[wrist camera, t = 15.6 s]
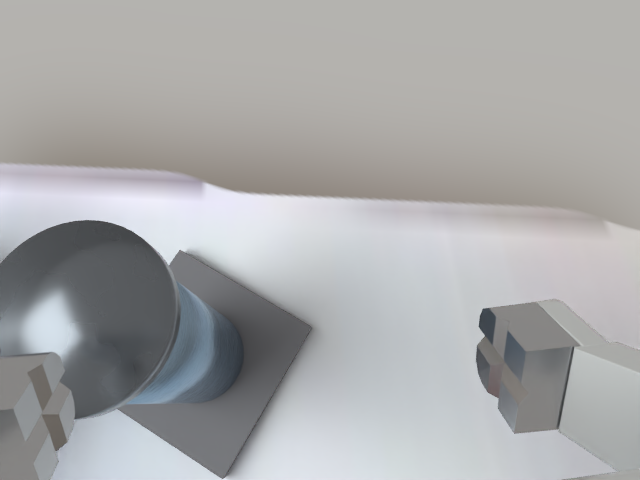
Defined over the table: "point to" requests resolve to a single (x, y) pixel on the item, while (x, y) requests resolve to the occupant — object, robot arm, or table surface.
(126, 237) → the plunger
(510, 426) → the robot arm
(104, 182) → the table surface
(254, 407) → the mat
